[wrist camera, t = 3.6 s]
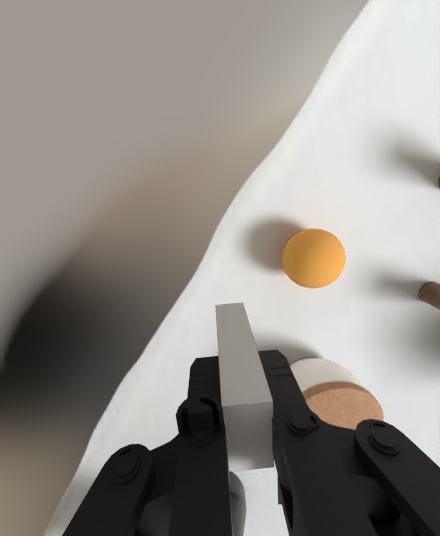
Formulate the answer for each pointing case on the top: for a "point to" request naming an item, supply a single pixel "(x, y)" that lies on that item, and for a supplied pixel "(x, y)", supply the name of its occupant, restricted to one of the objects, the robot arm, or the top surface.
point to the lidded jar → (335, 393)
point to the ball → (313, 258)
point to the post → (431, 294)
